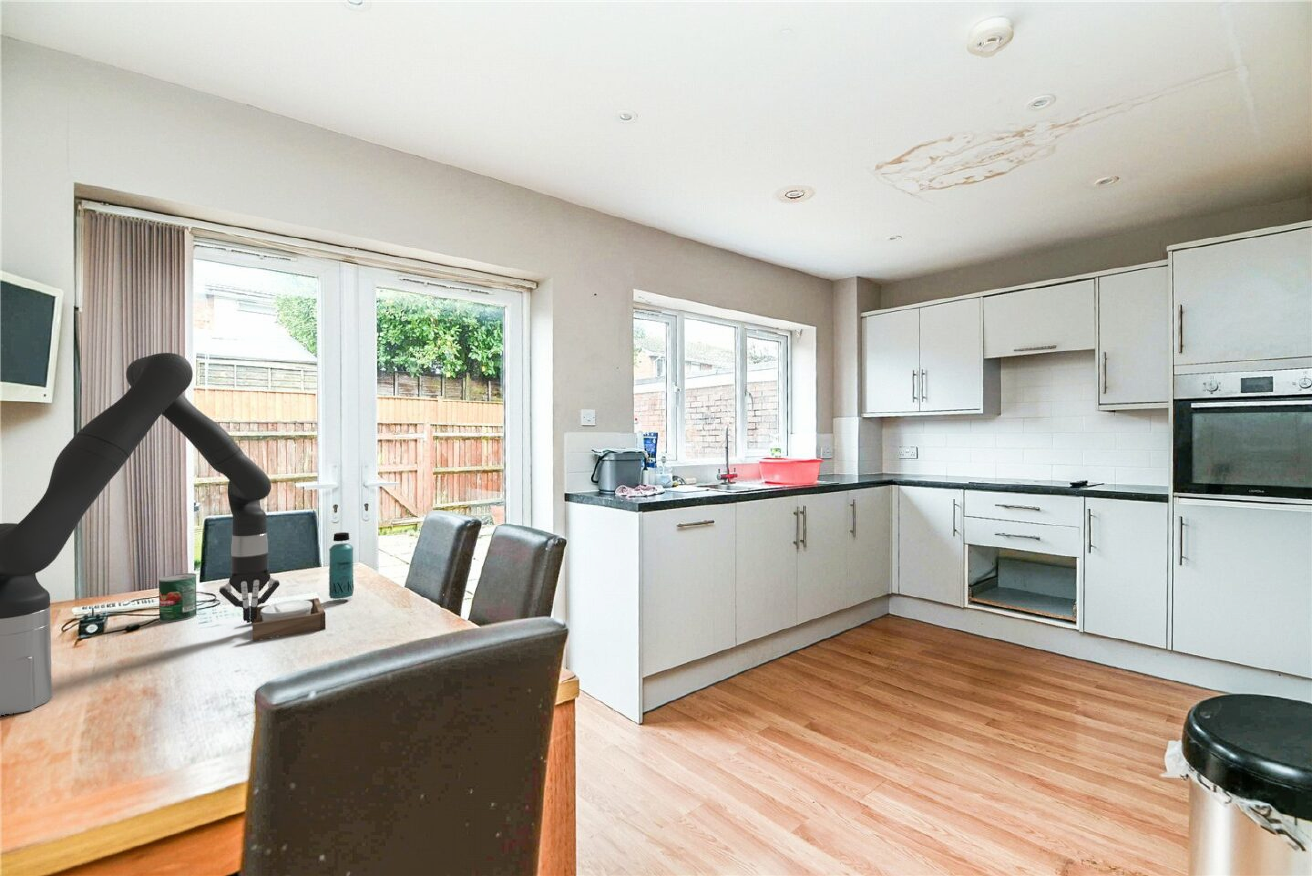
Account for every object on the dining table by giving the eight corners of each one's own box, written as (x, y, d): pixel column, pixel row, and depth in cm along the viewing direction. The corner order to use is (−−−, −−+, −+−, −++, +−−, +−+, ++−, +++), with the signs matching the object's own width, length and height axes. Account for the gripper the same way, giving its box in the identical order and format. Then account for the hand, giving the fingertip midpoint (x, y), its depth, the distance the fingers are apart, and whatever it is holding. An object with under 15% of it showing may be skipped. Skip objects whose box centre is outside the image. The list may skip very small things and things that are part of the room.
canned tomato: (152, 623, 155) (152, 581, 155) (168, 614, 162) (167, 574, 162) (188, 620, 157) (187, 579, 157) (202, 612, 164) (201, 572, 164)
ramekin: (249, 631, 149) (249, 610, 149) (288, 618, 159) (288, 598, 159) (285, 636, 146) (284, 614, 145) (322, 621, 156) (322, 601, 156)
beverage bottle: (323, 602, 173) (323, 533, 173) (345, 596, 179) (344, 530, 179) (338, 605, 170) (337, 535, 170) (359, 599, 176) (358, 532, 176)
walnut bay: (325, 629, 150) (325, 613, 150) (252, 641, 142) (252, 624, 142) (318, 612, 164) (318, 598, 164) (251, 623, 155) (251, 607, 155)
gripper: (216, 558, 141) (216, 631, 141) (282, 551, 149) (282, 621, 149) (217, 552, 147) (217, 622, 147) (280, 546, 155) (280, 613, 155)
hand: (250, 621), depth 148 cm, fingers closed
